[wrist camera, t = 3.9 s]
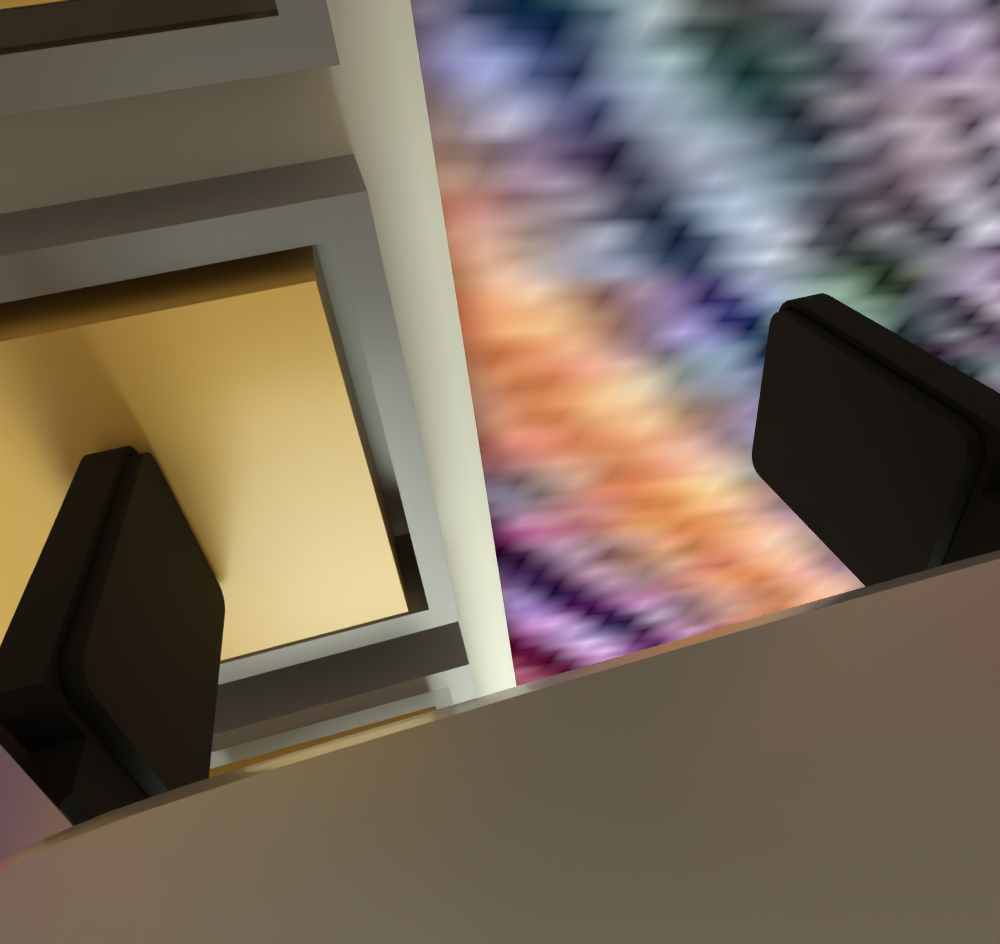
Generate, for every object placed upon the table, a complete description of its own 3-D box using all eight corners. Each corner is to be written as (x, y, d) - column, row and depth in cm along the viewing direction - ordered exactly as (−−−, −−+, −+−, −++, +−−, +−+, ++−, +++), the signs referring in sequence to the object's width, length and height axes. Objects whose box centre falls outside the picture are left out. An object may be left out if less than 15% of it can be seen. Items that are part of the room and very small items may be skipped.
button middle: (311, 228, 10) (315, 280, 8) (393, 531, 14) (408, 611, 12) (-132, 310, 9) (-230, 386, 8) (79, 608, 13) (46, 706, 11)
